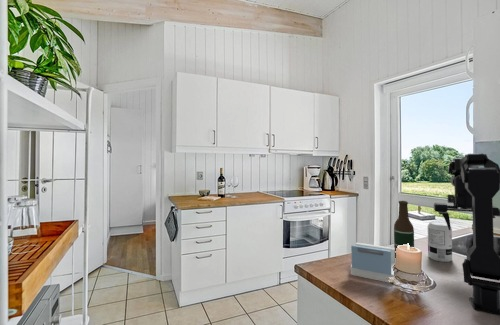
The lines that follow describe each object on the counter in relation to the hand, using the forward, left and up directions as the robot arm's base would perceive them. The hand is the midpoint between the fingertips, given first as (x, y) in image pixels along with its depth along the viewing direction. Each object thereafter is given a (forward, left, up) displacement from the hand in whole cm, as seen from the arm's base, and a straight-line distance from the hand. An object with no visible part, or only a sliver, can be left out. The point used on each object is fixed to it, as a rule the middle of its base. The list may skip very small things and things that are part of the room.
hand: (464, 231), depth 95 cm
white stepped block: (-18, +30, -15) cm, 38 cm away
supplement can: (+9, +7, -15) cm, 19 cm away
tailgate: (-27, +30, -11) cm, 42 cm away
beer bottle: (+7, +20, -15) cm, 26 cm away
